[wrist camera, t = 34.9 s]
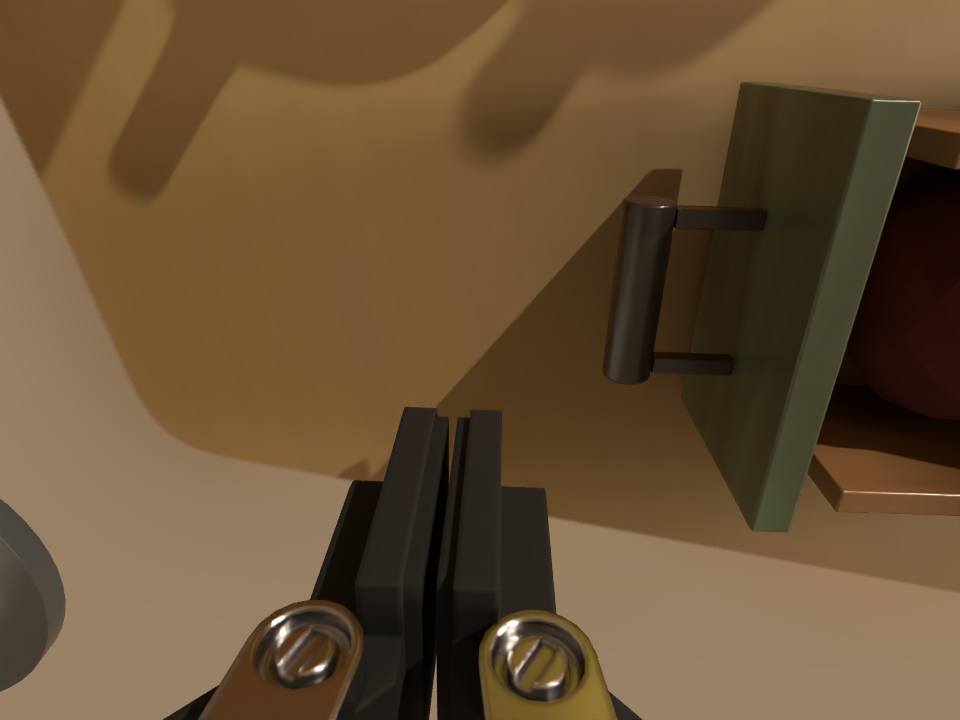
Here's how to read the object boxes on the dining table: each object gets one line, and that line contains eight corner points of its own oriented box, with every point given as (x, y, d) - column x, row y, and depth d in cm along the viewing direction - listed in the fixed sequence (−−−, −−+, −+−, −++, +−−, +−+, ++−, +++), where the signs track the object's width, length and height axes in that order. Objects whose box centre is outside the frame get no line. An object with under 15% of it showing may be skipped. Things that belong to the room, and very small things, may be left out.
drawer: (579, 395, 27) (611, 527, 19) (613, 78, 21) (675, 93, 14) (998, 408, 27) (1193, 547, 19) (1141, 91, 21) (1491, 114, 14)
